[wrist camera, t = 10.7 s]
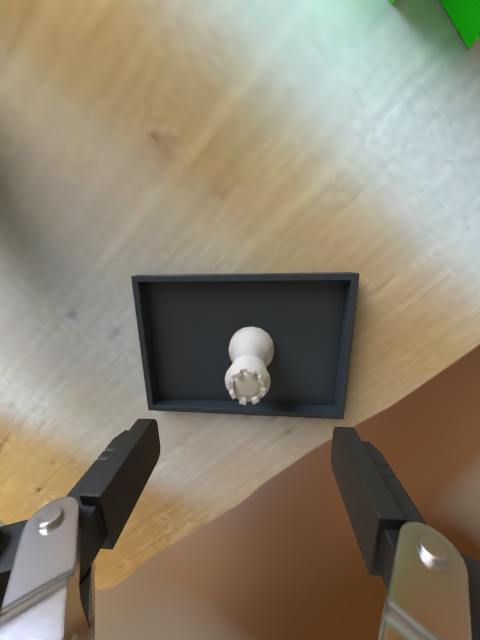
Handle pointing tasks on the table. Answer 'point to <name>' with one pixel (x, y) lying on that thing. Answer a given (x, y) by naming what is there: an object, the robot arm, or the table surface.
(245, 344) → the rook chess piece
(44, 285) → the table surface
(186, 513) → the table surface
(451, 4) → the building blocks toy
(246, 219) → the table surface
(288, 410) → the tray
